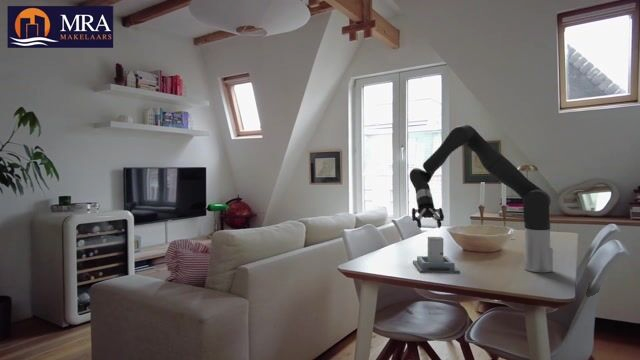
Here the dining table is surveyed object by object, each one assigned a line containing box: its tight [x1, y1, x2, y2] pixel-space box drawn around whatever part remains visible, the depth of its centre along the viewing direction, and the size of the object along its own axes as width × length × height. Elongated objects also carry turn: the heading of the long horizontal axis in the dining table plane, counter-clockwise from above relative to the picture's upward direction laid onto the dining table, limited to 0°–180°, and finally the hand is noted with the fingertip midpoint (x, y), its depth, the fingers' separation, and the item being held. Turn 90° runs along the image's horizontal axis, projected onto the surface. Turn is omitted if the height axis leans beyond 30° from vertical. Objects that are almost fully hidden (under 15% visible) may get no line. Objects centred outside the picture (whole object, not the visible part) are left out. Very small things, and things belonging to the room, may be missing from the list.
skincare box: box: [427, 236, 444, 262], centre depth 162 cm, size 6×4×12 cm
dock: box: [412, 255, 461, 274], centre depth 162 cm, size 16×18×4 cm
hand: (429, 227), depth 171 cm, fingers open, 8 cm apart
